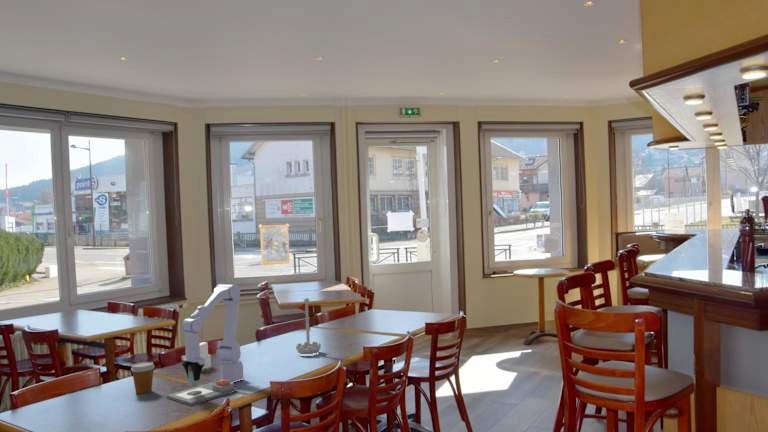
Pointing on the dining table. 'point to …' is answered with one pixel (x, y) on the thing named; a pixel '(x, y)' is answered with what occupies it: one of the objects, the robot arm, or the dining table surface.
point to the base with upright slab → (205, 354)
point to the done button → (222, 382)
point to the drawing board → (201, 393)
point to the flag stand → (307, 347)
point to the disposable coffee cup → (143, 377)
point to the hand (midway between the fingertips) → (193, 379)
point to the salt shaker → (191, 377)
